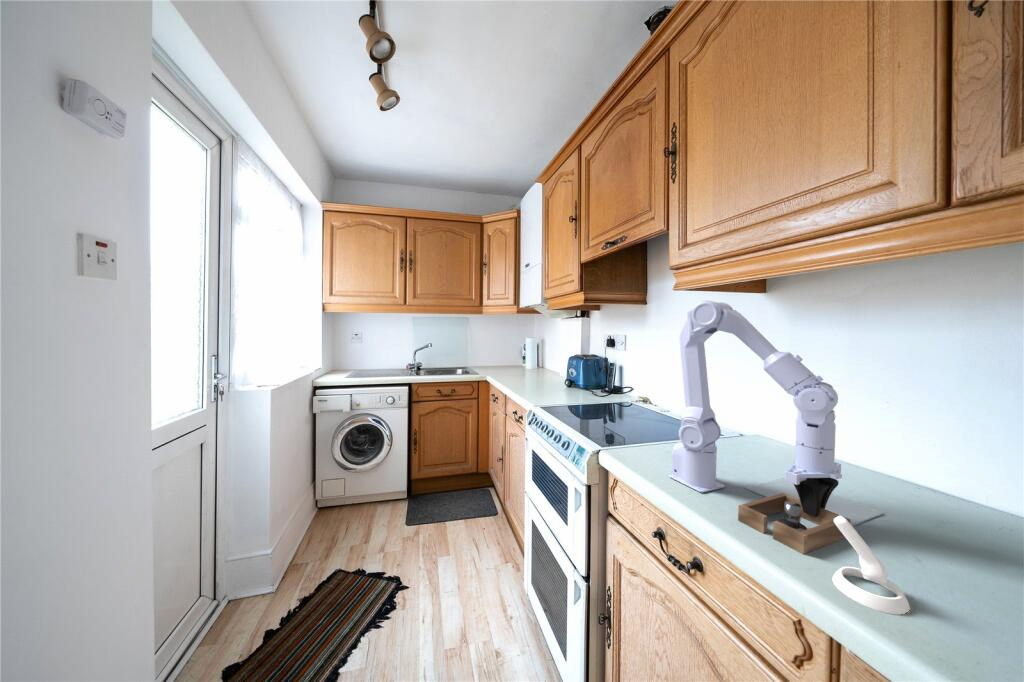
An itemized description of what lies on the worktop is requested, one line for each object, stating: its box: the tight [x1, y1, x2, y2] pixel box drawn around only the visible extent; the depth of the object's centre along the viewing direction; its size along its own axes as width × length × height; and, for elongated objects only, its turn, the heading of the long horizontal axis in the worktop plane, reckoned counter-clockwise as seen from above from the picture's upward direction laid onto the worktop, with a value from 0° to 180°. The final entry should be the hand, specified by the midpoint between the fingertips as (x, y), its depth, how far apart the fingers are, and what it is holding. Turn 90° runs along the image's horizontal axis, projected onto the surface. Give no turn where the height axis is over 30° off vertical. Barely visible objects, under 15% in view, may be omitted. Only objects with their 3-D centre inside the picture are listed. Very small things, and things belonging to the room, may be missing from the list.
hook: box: [831, 516, 911, 616], centre depth 50 cm, size 8×12×7 cm
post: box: [776, 501, 808, 532], centre depth 65 cm, size 4×4×4 cm
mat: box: [745, 477, 885, 527], centre depth 75 cm, size 18×15×1 cm
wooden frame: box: [737, 493, 851, 555], centre depth 65 cm, size 11×14×3 cm
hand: (812, 513), depth 67 cm, fingers closed on wooden frame
